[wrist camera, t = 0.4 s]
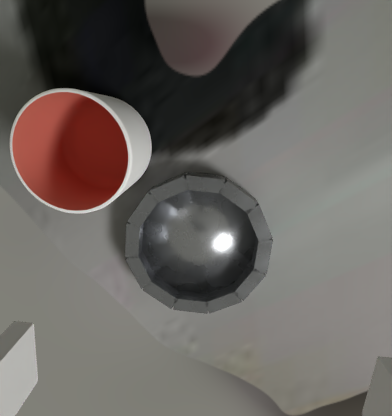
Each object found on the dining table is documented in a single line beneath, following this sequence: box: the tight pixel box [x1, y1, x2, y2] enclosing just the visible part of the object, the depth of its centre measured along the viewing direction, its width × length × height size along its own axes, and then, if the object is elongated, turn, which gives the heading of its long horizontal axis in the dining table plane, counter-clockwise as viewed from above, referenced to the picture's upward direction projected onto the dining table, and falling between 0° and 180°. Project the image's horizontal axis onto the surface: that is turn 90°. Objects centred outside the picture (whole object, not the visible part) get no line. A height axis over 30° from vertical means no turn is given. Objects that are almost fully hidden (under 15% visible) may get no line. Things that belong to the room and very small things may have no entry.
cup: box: [10, 88, 152, 213], centre depth 30 cm, size 10×10×10 cm
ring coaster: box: [125, 172, 273, 314], centre depth 36 cm, size 16×16×3 cm
